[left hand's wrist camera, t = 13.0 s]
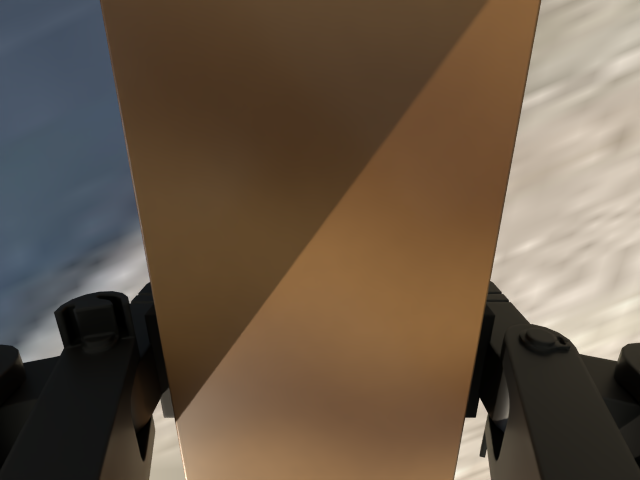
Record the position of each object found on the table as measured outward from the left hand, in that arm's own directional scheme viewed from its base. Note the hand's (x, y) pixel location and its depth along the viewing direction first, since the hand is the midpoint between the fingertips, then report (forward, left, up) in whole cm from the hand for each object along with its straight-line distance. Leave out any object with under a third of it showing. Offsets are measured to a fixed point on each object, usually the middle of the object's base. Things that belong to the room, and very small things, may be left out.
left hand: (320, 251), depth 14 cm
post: (+11, +34, -1) cm, 36 cm away
